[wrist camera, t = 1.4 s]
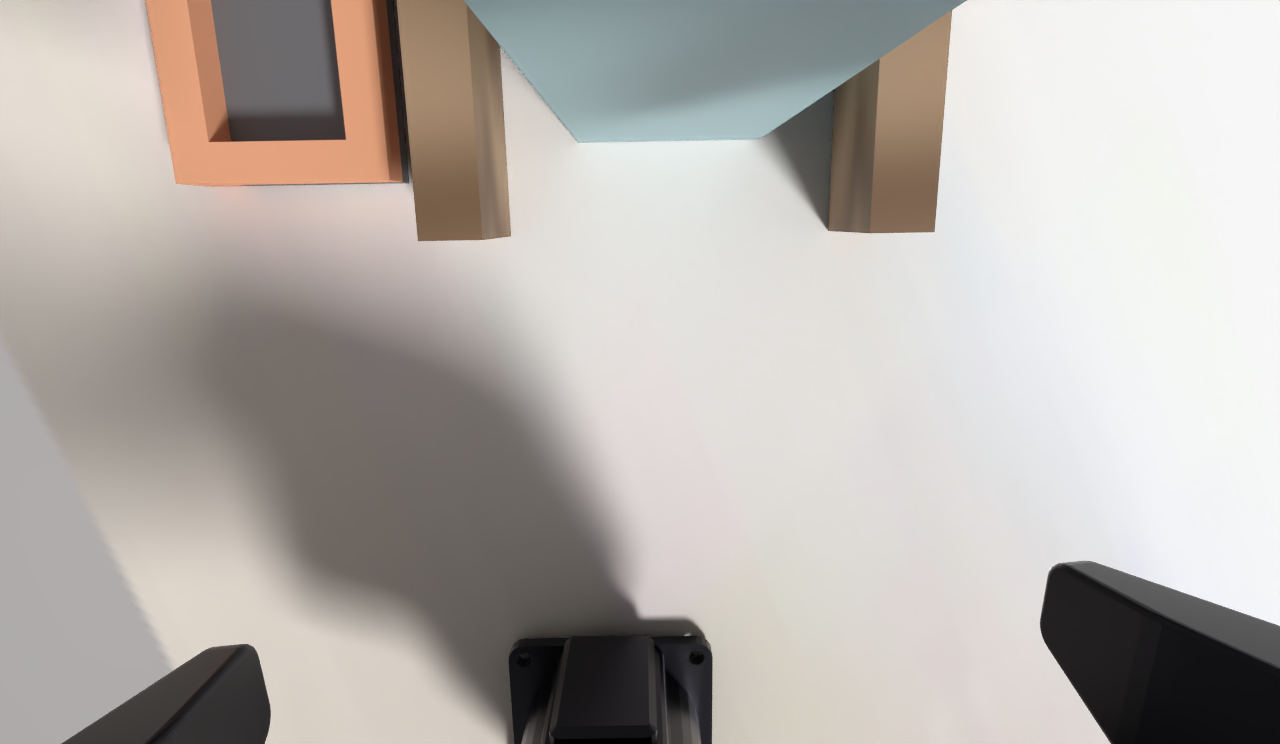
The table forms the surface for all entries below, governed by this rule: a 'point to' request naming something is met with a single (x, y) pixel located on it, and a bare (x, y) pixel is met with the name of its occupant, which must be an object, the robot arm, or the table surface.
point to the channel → (476, 153)
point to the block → (694, 59)
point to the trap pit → (280, 91)
